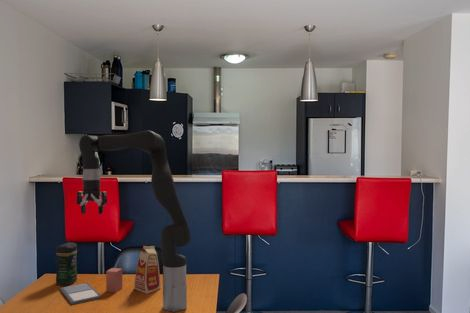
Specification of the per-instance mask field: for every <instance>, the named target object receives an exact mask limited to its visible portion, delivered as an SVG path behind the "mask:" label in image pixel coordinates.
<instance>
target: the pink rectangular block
mask: <svg viewBox="0 0 470 313" xmlns="http://www.w3.org/2000/svg"><path fill="white" fill-rule="evenodd" d="M105 276H106V278H105V282H106V283H105V286H106V287H105V288H106V289H105V291H106V292H112V293H118V292H120V291H121V290H122V289H123V268H118V267H111V268H109V269H108V270H106V274H105Z"/></svg>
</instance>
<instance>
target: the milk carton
mask: <svg viewBox="0 0 470 313" xmlns="http://www.w3.org/2000/svg"><path fill="white" fill-rule="evenodd" d="M155 247H156V246H155V245H152V246H147V245H143V246H142V249H141V250H140V252H139V256H138V262H137V265H136V266H137V267H136V270H135V278H134V284H133V285H134V286H133V288H134V289H135V290H136V291H138V292H141V293H144V294H146V295H147V294H150V293H152V292H155V291H158V290H159V289H161V273H160V264H159V259H158V252H157V251H156V249H155Z"/></svg>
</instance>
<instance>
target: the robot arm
mask: <svg viewBox="0 0 470 313" xmlns="http://www.w3.org/2000/svg"><path fill="white" fill-rule="evenodd" d="M78 146H79V152H80V153H81V154H80V155H81V157H82V167H83V169H82V170H83V171H82V189H83V191H80V190H79V191H77V192H76V205H79V206H80V213H81V215H85V214H86V213H87V209H86V208H87V206H86V205H87V203H88V202H95V203H96V204H97V205H98V206H97V207H98V210H97V211H98V215H103V213H104V206H106V205H107V204H108V194H107V191H101V171H100V157H98V156H96V155H95V154H94V151H96V152H97V151H98V152H99V151H115V152H116V151H120V150H124V149H130V148H131V149H136V150H137V149H138V150H141V151H143V152H145V153H147V154H148V155H149V158H150V160H151V161H150V162H151V166H152V174H151V178H150V179H151V180H150V183H151V187H152V191H153V195H154V198H155V200H156V201H157V202H158V203H159V205H160V206H161V207H162V208H163V209H164V210H165V211H166V212H167V213H168V215H169V216H170V218H171V220H172V224H168V225H165V226H163V227H162V228H161V231H160V248H161V258H162V308H163V310H165V311H168V312H172V313H175V312H179V311H183V310H186V309H187V307H188V306H187V305H188V302H187V300H188V299H187V298H188V297H187V294H188V293H187V292H188V291H187V290H188V287H187V257H186V256H185V255H183V254H178V253H177V250H176V249H177V248H182V247H185V246H188V245H189V244H190V242H191V238H192V235H191V230H190V227H189V226H190V225H189V224H188V222H187V219H186V216H185V213H184V211H183V209H182V206H181V203H180V200H179V197H178V192H177V188H176V185H175V181H174V180H175V179H174V178H173V175H172V172H171V168H170V165H169V161H168V157H167V150H166V145H165V141H164V138H163V137H162V135H160V134H158V133H156V132H154V131H152V130H143V131H137V132H133V133H126V134H125V133H124V134H105V135H91V134H90V135H89V134H85V135H82V136H81V137H80V139H79V142H78Z"/></svg>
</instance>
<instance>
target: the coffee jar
mask: <svg viewBox="0 0 470 313" xmlns="http://www.w3.org/2000/svg"><path fill="white" fill-rule="evenodd" d="M55 254H56V276H55V284H56V285H59V286H69V285H72V284H73V283H75V282H76V281H78V272H77V271H78V270H77V256H78V255H77V254H78V245H77V243H76V242H71V241H70V242H69V241H68V242H66V243H64V244H60V245H58V246H57V247H56V253H55Z"/></svg>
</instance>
